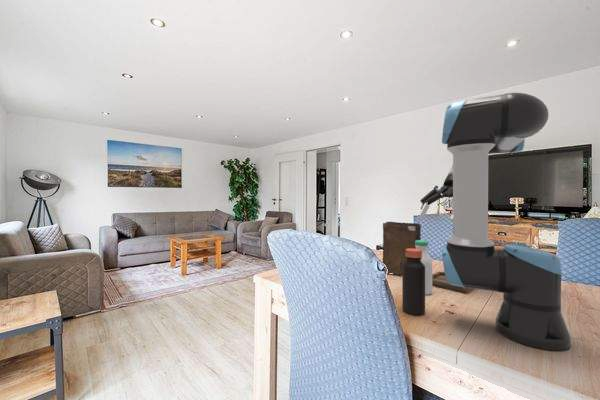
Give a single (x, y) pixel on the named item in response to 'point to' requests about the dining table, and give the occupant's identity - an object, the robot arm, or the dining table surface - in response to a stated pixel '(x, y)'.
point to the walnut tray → (441, 282)
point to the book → (398, 243)
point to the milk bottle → (426, 264)
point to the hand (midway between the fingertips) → (435, 218)
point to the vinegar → (413, 283)
